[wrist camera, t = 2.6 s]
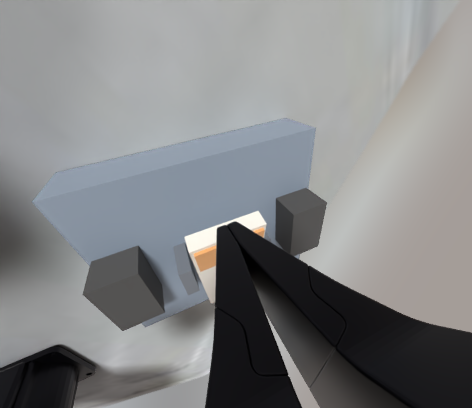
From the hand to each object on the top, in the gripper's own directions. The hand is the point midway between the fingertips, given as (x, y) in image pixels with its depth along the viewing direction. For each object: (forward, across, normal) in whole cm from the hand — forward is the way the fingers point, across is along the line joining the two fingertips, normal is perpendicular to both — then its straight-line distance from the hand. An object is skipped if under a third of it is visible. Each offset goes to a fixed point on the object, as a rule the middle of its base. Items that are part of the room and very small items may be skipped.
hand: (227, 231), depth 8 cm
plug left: (+3, +6, +4) cm, 8 cm away
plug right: (+3, -6, +4) cm, 8 cm away
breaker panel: (+6, 0, +4) cm, 8 cm away
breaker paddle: (+1, 0, +4) cm, 4 cm away
